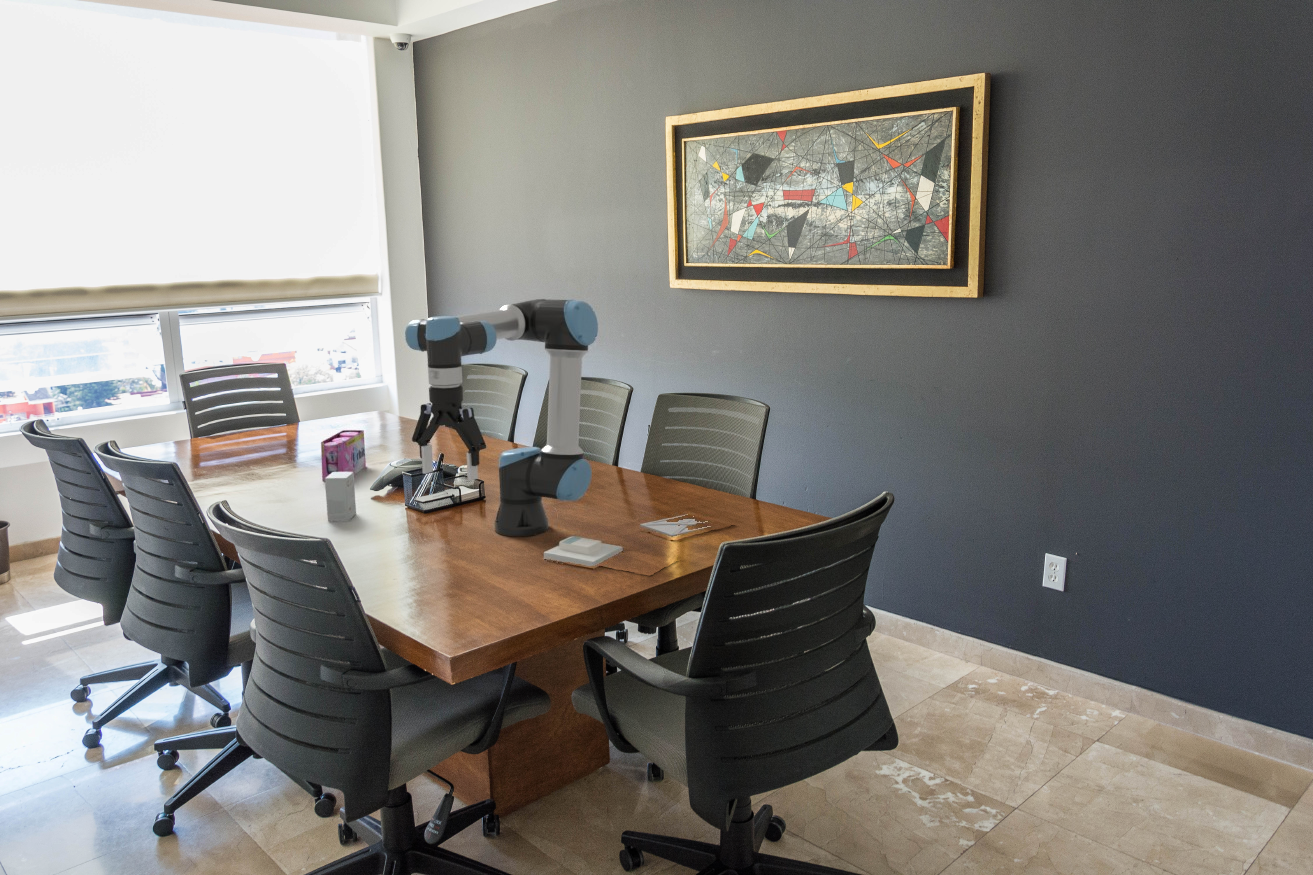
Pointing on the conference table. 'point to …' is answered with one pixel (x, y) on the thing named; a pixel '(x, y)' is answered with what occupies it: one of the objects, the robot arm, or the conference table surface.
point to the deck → (583, 555)
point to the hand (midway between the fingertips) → (450, 476)
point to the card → (580, 545)
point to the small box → (340, 496)
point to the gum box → (343, 453)
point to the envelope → (672, 526)
